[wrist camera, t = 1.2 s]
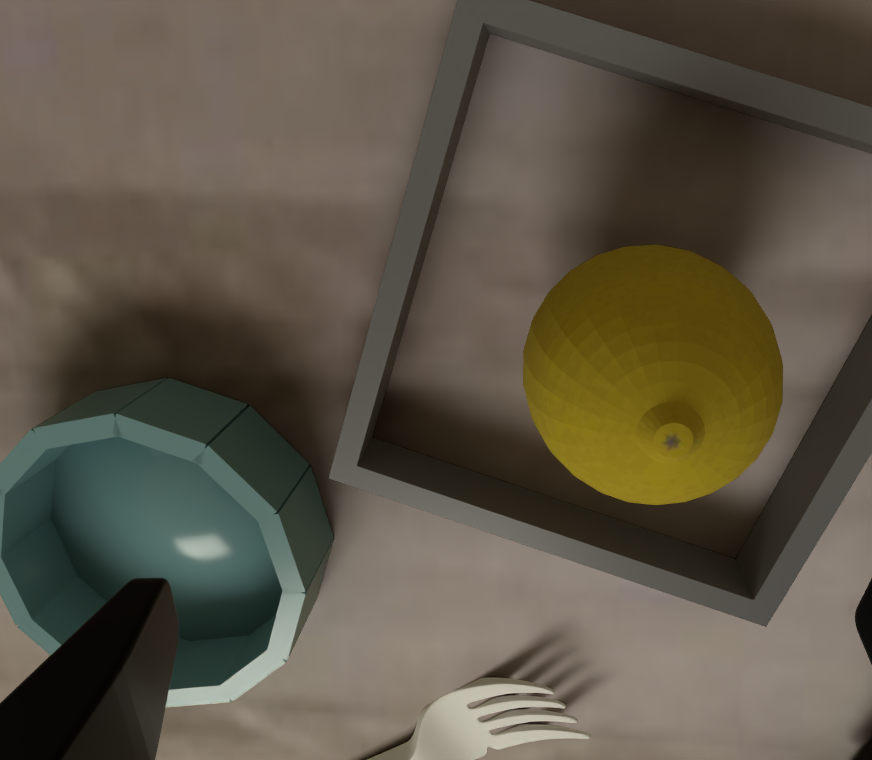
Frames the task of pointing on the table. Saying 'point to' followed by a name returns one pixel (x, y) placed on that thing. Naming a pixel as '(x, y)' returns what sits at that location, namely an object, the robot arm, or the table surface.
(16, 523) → the bowl
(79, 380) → the table surface
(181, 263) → the table surface
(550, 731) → the fork
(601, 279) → the lemon
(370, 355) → the parts tray
